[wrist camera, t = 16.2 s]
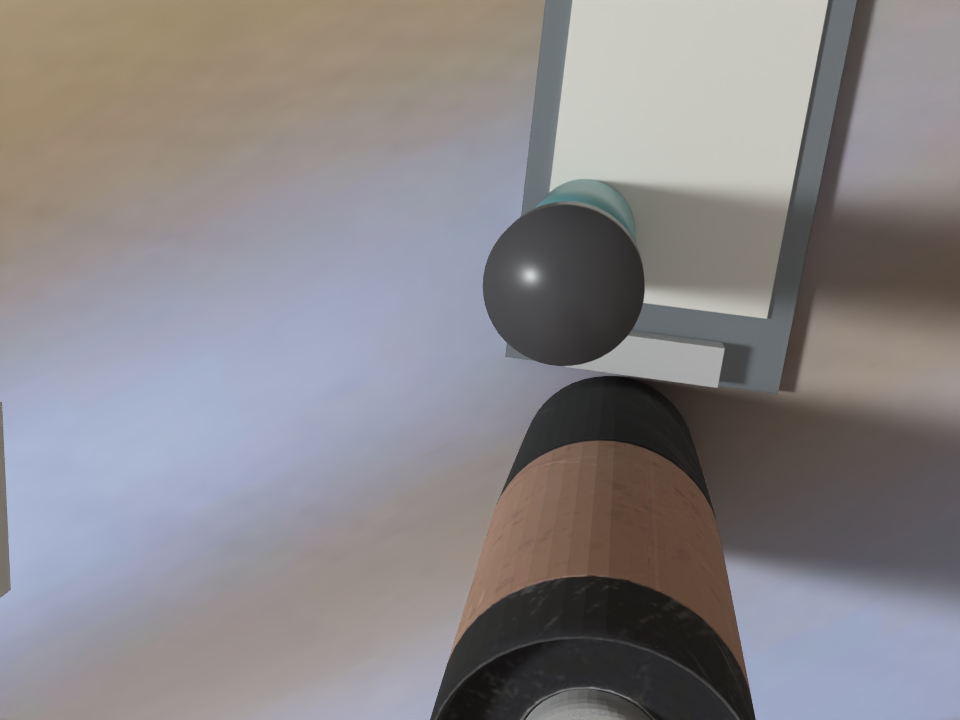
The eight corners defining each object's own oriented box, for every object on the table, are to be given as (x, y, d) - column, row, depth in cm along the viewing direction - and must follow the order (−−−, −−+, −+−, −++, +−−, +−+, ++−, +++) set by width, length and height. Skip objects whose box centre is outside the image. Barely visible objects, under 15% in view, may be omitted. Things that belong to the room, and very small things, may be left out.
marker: (545, 161, 35) (506, 186, 24) (653, 192, 35) (666, 233, 24) (516, 267, 37) (465, 339, 25) (619, 298, 36) (616, 385, 25)
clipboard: (560, -121, 33) (557, -132, 32) (872, -97, 32) (885, -107, 31) (507, 352, 38) (502, 362, 37) (775, 389, 37) (781, 401, 36)
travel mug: (699, 365, 37) (775, 632, 18) (701, 538, 39) (771, 942, 20) (513, 370, 39) (401, 624, 20) (523, 537, 40) (431, 917, 21)
